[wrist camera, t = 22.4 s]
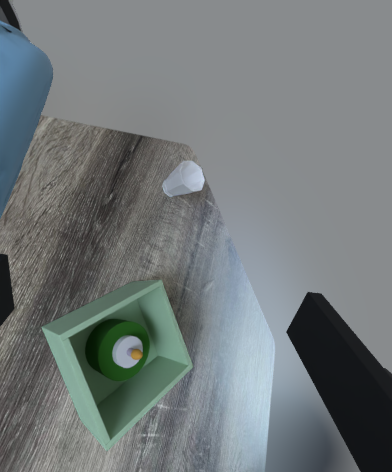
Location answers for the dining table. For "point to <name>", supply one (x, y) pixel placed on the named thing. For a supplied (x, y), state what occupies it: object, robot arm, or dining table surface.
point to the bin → (137, 387)
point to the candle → (117, 349)
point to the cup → (184, 179)
